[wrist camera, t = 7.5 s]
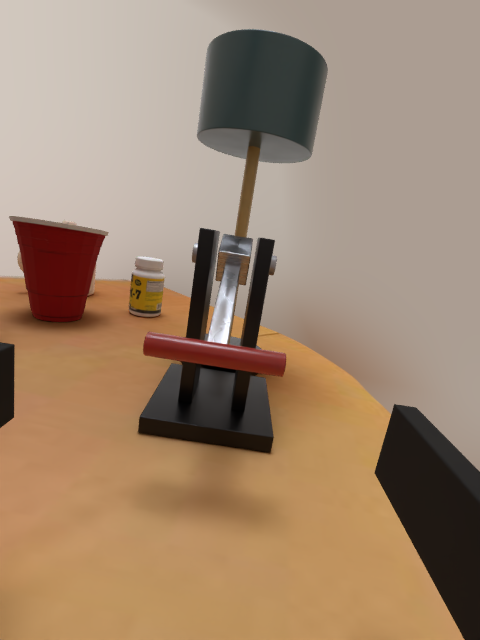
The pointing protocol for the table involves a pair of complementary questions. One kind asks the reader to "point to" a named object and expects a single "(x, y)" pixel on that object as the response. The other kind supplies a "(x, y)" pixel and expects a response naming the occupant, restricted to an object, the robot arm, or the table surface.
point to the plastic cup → (57, 266)
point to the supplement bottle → (146, 287)
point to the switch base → (211, 385)
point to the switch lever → (221, 323)
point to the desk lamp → (260, 107)
